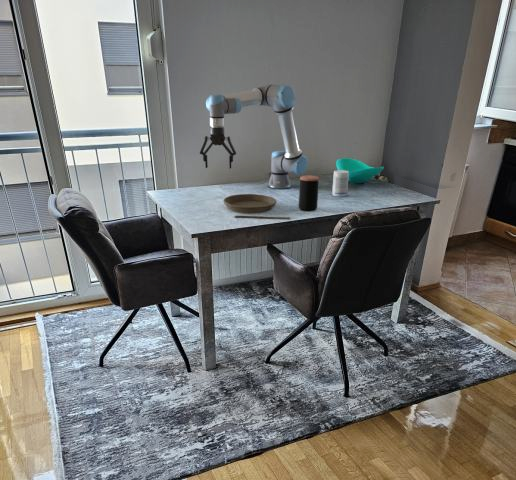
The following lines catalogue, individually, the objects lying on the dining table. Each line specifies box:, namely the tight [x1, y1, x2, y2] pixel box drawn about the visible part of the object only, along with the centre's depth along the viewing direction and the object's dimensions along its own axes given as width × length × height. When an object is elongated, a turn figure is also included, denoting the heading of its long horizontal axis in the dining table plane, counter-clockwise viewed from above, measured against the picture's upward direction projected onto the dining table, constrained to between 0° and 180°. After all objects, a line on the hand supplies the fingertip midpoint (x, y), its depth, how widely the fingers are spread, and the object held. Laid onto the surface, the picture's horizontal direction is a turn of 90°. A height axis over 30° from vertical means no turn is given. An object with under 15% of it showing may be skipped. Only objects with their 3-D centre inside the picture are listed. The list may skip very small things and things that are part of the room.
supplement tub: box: [331, 169, 349, 198], centre depth 298 cm, size 10×10×15 cm
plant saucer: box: [223, 193, 277, 214], centre depth 275 cm, size 31×31×5 cm
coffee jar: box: [298, 174, 320, 213], centre depth 269 cm, size 11×11×18 cm
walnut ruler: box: [234, 215, 290, 220], centre depth 258 cm, size 30×2×1 cm, turn 84°
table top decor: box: [335, 157, 384, 184], centre depth 331 cm, size 40×28×13 cm
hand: (218, 167), depth 265 cm, fingers open, 13 cm apart
